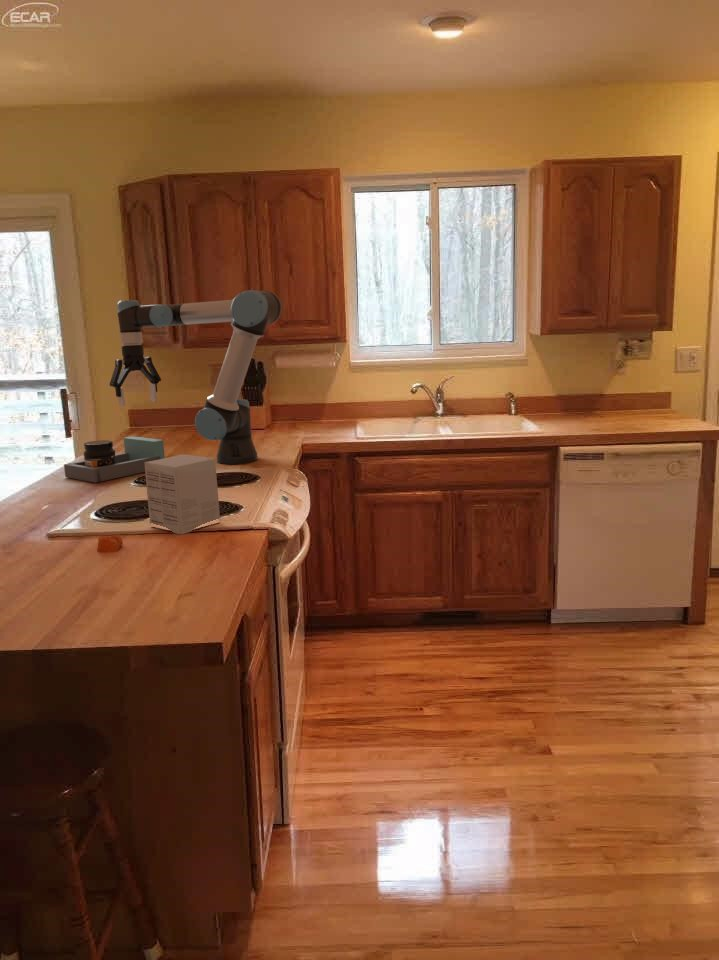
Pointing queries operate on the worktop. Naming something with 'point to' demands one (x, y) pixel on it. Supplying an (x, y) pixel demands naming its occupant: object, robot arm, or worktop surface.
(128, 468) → the gray open tray
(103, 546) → the rock
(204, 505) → the supplement box
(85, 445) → the supplement container
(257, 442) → the worktop surface
